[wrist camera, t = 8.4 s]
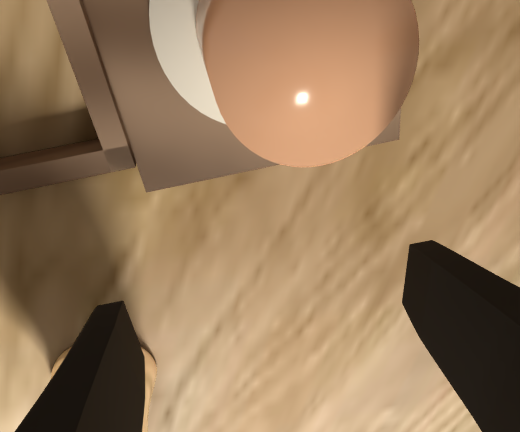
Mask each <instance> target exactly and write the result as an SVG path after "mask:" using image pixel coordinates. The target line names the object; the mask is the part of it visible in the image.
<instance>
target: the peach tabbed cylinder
mask: <svg viewBox="0 0 520 432" xmlns="http://www.w3.org/2000/svg"><path fill="white" fill-rule="evenodd" d="M196 36H197V41H198V45H199V48H200V52H201V55H202V58H203V61H204V65H205V68H206V71H207V74H208V78H209V81H210V84H211V87H212V91H213V94H214V97H215V100H216V103H217V106H218V108H219V111H220V113H221V115H222V117H223V119H224V121H225V123H226V125H227V126H228V127H229V129H230V130H231V132H232V133H233V134H234V136H235V137H236V138H237V139H238V140H239V141H240V142H241V143H242V144H243V145H244V146H246V147H247V148H248V149H249V150H251V151H252V152H254V153H255V154H257V155H259V156H260V157H262V158H264V159H266V160H269V161H271V162H274V163H277V164H281V165H285V166H292V167H314V166H322V165H326V164H330V163H333V162H336V161H339V160H342V159H344V158H346V157H348V156H350V155H352V154H354V153H356V152H357V151H359V150H361V149H362V148H364V147H365V146H366V145H368V144H369V143H370V142H371V141H373V140H374V139H375V138H376V137H377V136H378V135H379V134H380V133H381V132H382V131H383V130H384V129H385V128H386V127H387V126H388V125H389V123H390V122H391V121H392V120H393V118H394V117H395V115H396V114H397V112H398V111H399V109H400V108H401V106H402V104H403V102H404V100H405V98H406V97H407V94H408V92H409V89H410V87H411V84H412V82H413V78H414V75H415V71H416V67H417V60H418V54H419V31H418V23H417V18H416V13H415V9H414V7H413V4H412V1H411V0H199V1H198V5H197V10H196Z"/></svg>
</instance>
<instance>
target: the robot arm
mask: <svg viewBox="0 0 520 432" xmlns="http://www.w3.org/2000/svg"><path fill="white" fill-rule="evenodd" d="M402 304H403V306H404V308H405V310H406V312H407V314H408V316H409V318H410V320H411V322H412V324H413V326H414V328H415V330H416V332H417V334H418V336H419V338H420V339H421V341H422V342H423V344H424V345H425V347H426V348H427V350H428V351H429V353H430V354H431V356H432V357H433V359H434V360H435V362H436V363H437V365H438V366H439V368H440V369H441V371H442V372H443V374H444V375H445V377H446V378H447V380H448V381H449V382H450V384H451V385H452V387H453V388H454V390H455V391H456V393H457V394H458V396H459V397H460V399H461V400H462V402H463V403H464V405H465V406H466V408H467V409H468V410H469V412H470V413H471V415H472V416H473V418H474V420H475V421H476V423H477V424H478V426H479V428H480V429H481V431H482V432H520V287H518V286H516V285H514V284H512V283H510V282H508V281H506V280H505V279H503V278H501V277H499V276H497V275H495V274H494V273H492V272H490V271H488V270H486V269H484V268H483V267H481V266H479V265H477V264H476V263H474V262H472V261H470V260H468V259H467V258H465V257H463V256H461V255H459V254H458V253H456V252H454V251H452V250H450V249H448V248H447V247H445V246H443V245H441V244H439V243H437V242H435V241H433V240H430V241H425V242H420V243H415V244H410V246H409V253H408V261H407V269H406V276H405V284H404V292H403V299H402ZM144 407H145V357H144V354H143V351H142V349H141V346H140V343H139V341H138V338H137V336H136V333H135V330H134V328H133V325H132V322H131V320H130V317H129V314H128V312H127V309H126V307H125V304H124V301H119V302H114V303H109V304H104V305H99V306H97V307H96V308H95V309H94V311H93V312H92V314H91V316H90V317H89V319H88V321H87V322H86V324H85V326H84V327H83V329H82V331H81V332H80V334H79V336H78V337H77V339H76V341H75V342H74V344H73V346H72V347H71V349H70V350H69V352H68V354H67V355H66V357H65V359H64V360H63V362H62V363H61V365H60V366H59V368H58V369H57V371H56V372H55V374H54V376H53V377H52V379H51V380H50V382H49V383H48V385H47V386H46V388H45V389H44V391H43V392H42V394H41V395H40V397H39V398H38V400H37V401H36V402H35V404H34V405H33V407H32V408H31V409H30V411H29V412H28V414H27V415H26V417H25V418H24V419H23V421H22V422H21V424H20V425H19V426H18V428H17V429H16V431H15V432H142V427H143V417H144Z"/></svg>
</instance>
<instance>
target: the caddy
mask: <svg viewBox="0 0 520 432" xmlns="http://www.w3.org/2000/svg"><path fill="white" fill-rule="evenodd" d="M198 1H199V0H47V2H48V5H49V8H50V10H51V13H52V16H53V18H54V21H55V24H56V26H57V29H58V32H59V34H60V37H61V40H62V42H63V45H64V47H65V50H66V53H67V55H68V58H69V61H70V63H71V66H72V69H73V71H74V74H75V77H76V79H77V82H78V85H79V87H80V90H81V93H82V95H83V98H84V101H85V103H86V106H87V109H88V111H89V114H90V117H91V119H92V122H93V124H94V127H95V130H96V132H97V135H98V138H99V139H95V140H90V141H85V142H80V143H74V144H69V145H64V146H59V147H54V148H49V149H44V150H39V151H34V152H29V153H24V154H19V155H13V156H8V157H3V158H0V195H2V194H7V193H12V192H17V191H22V190H27V189H32V188H36V187H41V186H46V185H51V184H56V183H61V182H66V181H71V180H76V179H81V178H85V177H90V176H95V175H100V174H105V173H110V172H115V171H120V170H125V169H130V168H135V167H136V163H137V166H138V169H139V172H140V175H141V178H142V181H143V184H144V187H145V190H146V192H151V191H155V190H160V189H165V188H170V187H175V186H179V185H184V184H189V183H194V182H198V181H203V180H208V179H213V178H218V177H222V176H227V175H232V174H237V173H241V172H246V171H251V170H256V169H261V168H265V167H270V166H275V165H280V164H277V163H274V162H271V161H269V160H266V159H264V158H262V157H260V156H259V155H257V154H255V153H254V152H252V151H251V150H249V149H248V148H247V147H246V146H244V145H243V144H242V143H241V142H240V141H239V140H238V139H237V138H236V137H235V136H234V134H233V133H232V132H231V130H230V129H229V127H228V126H227V125H226V123H225V121H224V119H223V117H222V115H221V113H220V111H219V108H218V106H217V103H216V100H215V97H214V94H213V91H212V87H211V84H210V81H209V78H208V74H207V71H206V68H205V65H204V61H203V58H202V55H201V52H200V48H199V45H198V41H197V36H196V10H197V5H198ZM400 114H401V108H400V109H399V111H398V112H397V114H396V115H395V117H394V118H393V120H392V121H391V122H390V123H389V125H388V126H387V127H386V128H385V129H384V130H383V131H382V132H381V133H380V134H379V135H378V136H377V137H376V138H375V139H374V140H373V141H371V142H370V143H369V144H368V145H366V146H370V145H375V144H380V143H385V142H390V141H394V140H399V133H400ZM366 146H365V147H366Z"/></svg>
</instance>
